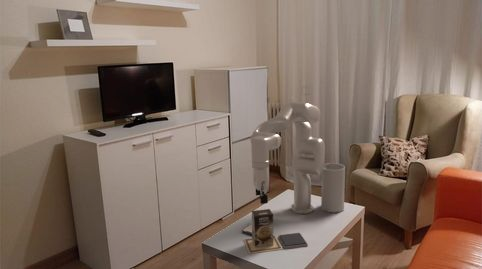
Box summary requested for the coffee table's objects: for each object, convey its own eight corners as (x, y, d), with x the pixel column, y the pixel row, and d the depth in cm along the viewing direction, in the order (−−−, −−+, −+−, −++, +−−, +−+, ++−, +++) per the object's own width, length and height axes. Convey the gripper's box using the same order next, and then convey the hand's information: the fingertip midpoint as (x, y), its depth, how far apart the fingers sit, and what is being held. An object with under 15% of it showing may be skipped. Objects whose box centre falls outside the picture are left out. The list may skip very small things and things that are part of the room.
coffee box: (255, 248, 173) (254, 216, 169) (252, 241, 179) (251, 210, 175) (274, 245, 174) (273, 214, 171) (270, 239, 181) (269, 208, 177)
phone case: (258, 221, 201) (241, 233, 189) (257, 218, 201) (240, 230, 188) (272, 225, 196) (255, 237, 184) (272, 222, 196) (255, 234, 183)
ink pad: (278, 237, 182) (278, 234, 182) (299, 234, 184) (299, 232, 184) (284, 249, 172) (284, 246, 171) (307, 246, 174) (307, 243, 173)
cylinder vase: (327, 202, 221) (328, 161, 215) (347, 207, 213) (348, 165, 207) (317, 209, 211) (317, 167, 206) (338, 215, 204) (339, 171, 198)
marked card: (243, 239, 181) (243, 238, 181) (275, 235, 184) (275, 234, 184) (248, 253, 169) (248, 252, 169) (282, 249, 172) (282, 248, 171)
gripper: (248, 158, 175) (249, 192, 179) (256, 170, 158) (257, 207, 163) (263, 157, 176) (265, 191, 180) (273, 168, 160) (274, 205, 164)
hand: (261, 199), depth 171 cm, fingers open, 9 cm apart
